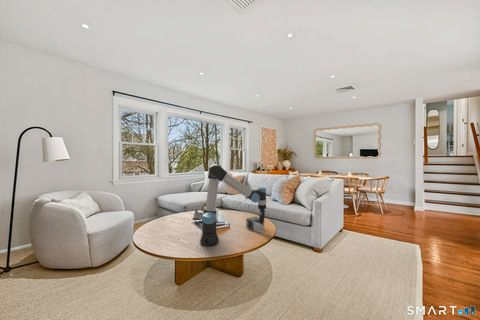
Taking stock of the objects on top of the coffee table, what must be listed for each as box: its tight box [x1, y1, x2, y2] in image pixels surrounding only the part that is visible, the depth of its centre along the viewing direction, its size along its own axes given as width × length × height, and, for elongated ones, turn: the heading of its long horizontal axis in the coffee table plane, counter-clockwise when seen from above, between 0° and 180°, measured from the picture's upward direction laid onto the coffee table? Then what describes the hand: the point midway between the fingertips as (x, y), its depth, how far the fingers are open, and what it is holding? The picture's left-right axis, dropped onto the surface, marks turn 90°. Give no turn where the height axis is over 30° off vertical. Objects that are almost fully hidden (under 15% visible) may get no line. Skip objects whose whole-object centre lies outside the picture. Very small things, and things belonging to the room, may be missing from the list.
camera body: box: [245, 215, 261, 231], centre depth 205 cm, size 14×9×10 cm, turn 127°
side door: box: [252, 221, 264, 234], centre depth 193 cm, size 12×2×8 cm, turn 40°
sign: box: [192, 202, 206, 221], centre depth 224 cm, size 22×3×20 cm, turn 94°
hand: (262, 229), depth 193 cm, fingers closed
